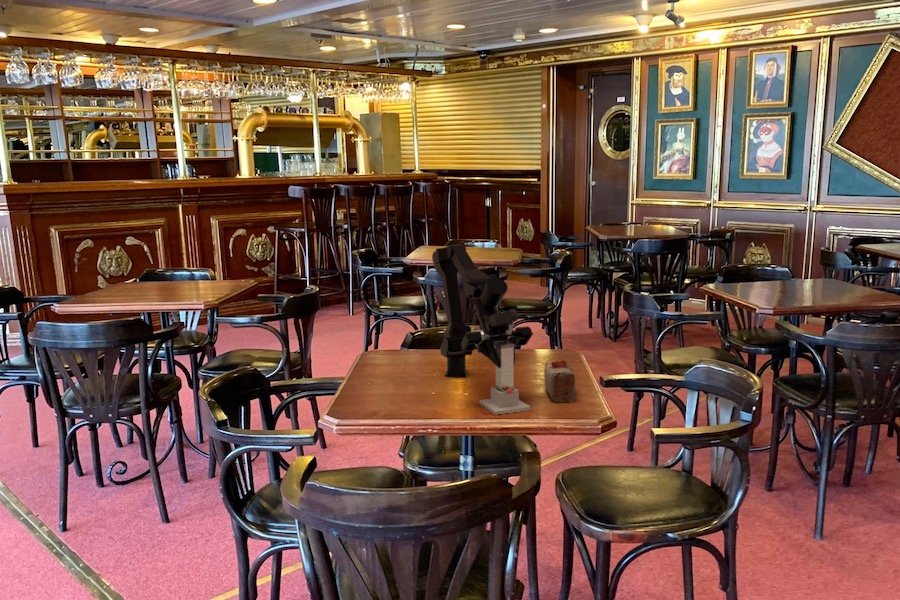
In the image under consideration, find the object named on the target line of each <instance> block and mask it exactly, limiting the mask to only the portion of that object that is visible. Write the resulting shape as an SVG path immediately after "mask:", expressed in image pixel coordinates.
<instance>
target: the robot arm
mask: <svg viewBox="0 0 900 600" xmlns="http://www.w3.org/2000/svg"><path fill="white" fill-rule="evenodd" d="M431 258H432V263H433V264H434V269H435V271H436V272H437V274H438V275H439V276H440V277H441V280H442V281H441V282H442V288H443V295H444V296H443V297H444V303H445V311H446V317H447V326H446V327H445V328H446V329H445V331H444V334H443V336H444V338H443V340H442V343H441V345H440V347H439V349H440V355H442V356H443V357H444V358H446V372H445V373H444V377H448V378H449V377H451V378H453V377H454V378H466V377H467V375H468V372H469V370H468V369H467V366H466V365H467V363H466V361H467V360H466V358H467V357H466V356H472V354H473V351H475V349H476V346H478V349H477V353H478V354H479V353H481V354H482V355H484V356H485V357H486V358H487V359H489V360H490V361H491V362H492V363H493V364H494V365H495V367H496V366H497V367H498V368H500V367H501V363H500V360H499V357H498V355H497V352H496V346H495V342H502V341H509V342H511V343H513V344H515V347H514V366H515V364H516V347H521V346H525V345H528V343H529V341H530V340H531V338H532V336H533V335H534V333H533V330H532V328H531V327H530V326H528V325H527V326H518V327H517V326H516V328H514V329H513V330H514V331H512V332H511V333H506V331H507V330H508V329H509V325H510V324H513V322H514V323H516V322H517V321H519V317H518V316H519V315H518V312H517V310H516V309H515V308H514V309H513V308H511V309H508V310H507V311H501V312H500V311H499V309H498V306H499V305H500V304H501V303H502V302H503V299H504V296H505V295H506V294H507V291H508V284H507V282H506V281H505V280H503V279H502V278H500V277H498V276H497V274H487V273H485V272H482V271H481V270H479V269H478V268H477V266H476V264H475V263H474V261H473V259H472V258H471V256H470V255H469V253H468V251H467V247H466V245H465V244H460V243H459V244H450V245H447V246H445V247H437V248H436V249H435V251H433V253H432V255H431ZM458 274H459V275H460V276H461V278H462V280H463V281H464V283H463V291H464V294H465V296H466V297H467V298H468V300H470V299H471V300H472V299H473V300H475V299H476V300H475V302H474V303H473V304H474V305H473V308H472V309H473V311H472V312H473V313H476V315H477V318H478V320H479V326H478V327H479V330H475V331H472V329H471V328H472V327H471V326H470V325H467V323H466V322H465V321H464V314H463V308H462V300H461V294H460V293H461V292H460V286H459V277H458ZM480 330H482V332H483V334H482V333H481V331H480Z"/></svg>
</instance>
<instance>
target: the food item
mask: <svg viewBox="0 0 900 600" xmlns="http://www.w3.org/2000/svg"><path fill="white" fill-rule="evenodd" d="M569 362H570V361H569V360H568V362H566V360H559V361H558V360H553V361H547V362H545V365H544V373H543V374H544V375H543V376H544V388H545V390H546V391H547V393H548V395H549V397H550V398H551V400H552V402H553V403H573V402H574V401H575V397H576V396H575V394H576V378H575V374H574V372H573V370H574V368H573V366H569V365H568V363H569Z"/></svg>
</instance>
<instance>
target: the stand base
mask: <svg viewBox="0 0 900 600" xmlns="http://www.w3.org/2000/svg"><path fill="white" fill-rule="evenodd" d="M519 394H520V392H519V389H517V388H516V387H514V390H513V388H509V389H508V390H507V391H505V392H500V391H499V390H497V389H496V387H495V386H490V398H487V399H481V400H479V403H478V404H479V405H480V404H481V405H480V406H482V407H483V406H484V407H485V410H487V409H488V410H489V413H491V412H492V413H491V414H493V415H494V414H495V415H494V416H499V415H498V414H502V415H506V414H505V413H509V414H514V413H513V412H516V413H520V412H521V411H522V412H527V411H531V406H530V405H529V404H527V403H525V402H524V401H522V400H521V399H520V397H519V396H520V395H519ZM484 407H483V408H484ZM488 410H487V411H488Z"/></svg>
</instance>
